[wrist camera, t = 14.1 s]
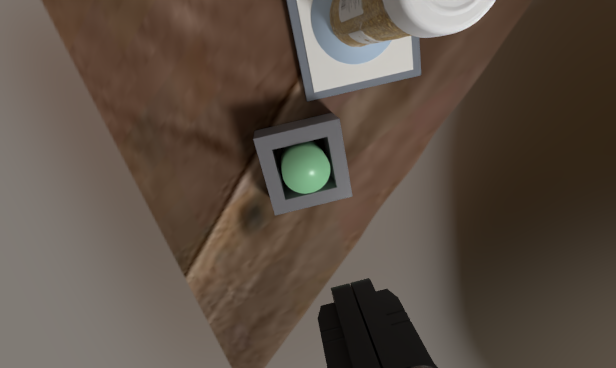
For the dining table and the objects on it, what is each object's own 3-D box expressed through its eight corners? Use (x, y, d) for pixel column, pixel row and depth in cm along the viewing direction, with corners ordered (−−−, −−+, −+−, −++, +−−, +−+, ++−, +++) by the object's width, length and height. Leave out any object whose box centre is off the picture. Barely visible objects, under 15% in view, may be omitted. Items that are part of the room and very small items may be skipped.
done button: (275, 144, 27) (276, 154, 24) (319, 133, 27) (325, 142, 24) (286, 184, 28) (288, 198, 26) (327, 174, 29) (334, 187, 26)
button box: (254, 130, 27) (253, 139, 24) (332, 112, 27) (339, 118, 24) (274, 200, 29) (275, 215, 27) (344, 183, 30) (352, 196, 27)
